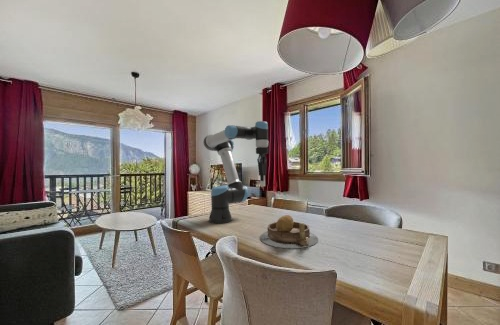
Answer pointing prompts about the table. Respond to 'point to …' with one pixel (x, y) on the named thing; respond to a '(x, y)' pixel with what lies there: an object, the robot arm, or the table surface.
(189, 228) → the table surface
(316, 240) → the base
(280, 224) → the potato
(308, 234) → the brown round shallow piece
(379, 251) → the table surface
